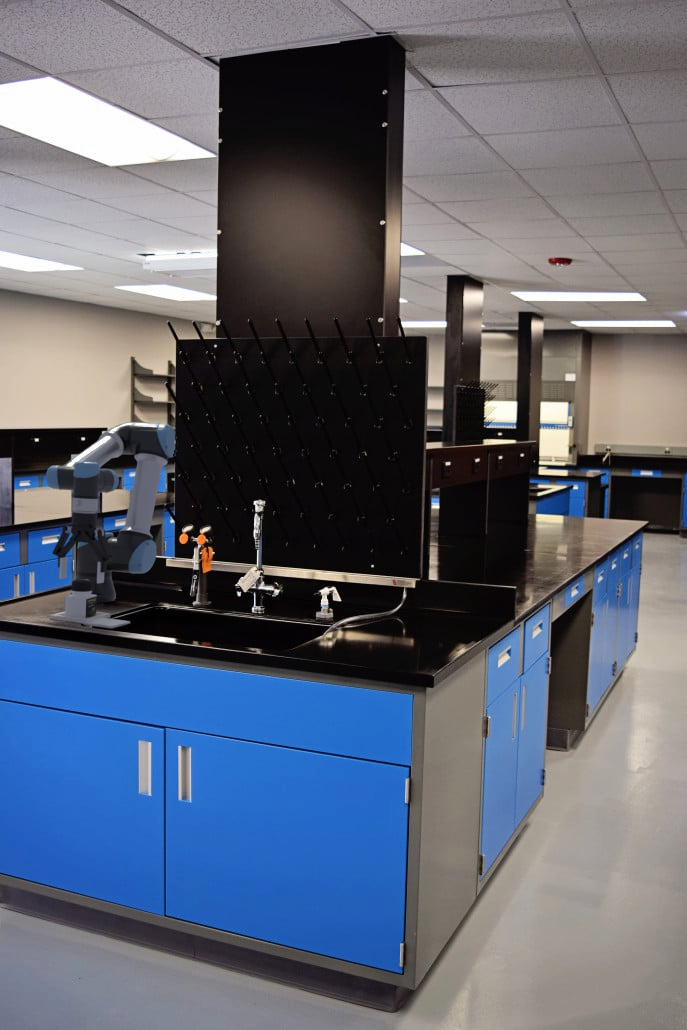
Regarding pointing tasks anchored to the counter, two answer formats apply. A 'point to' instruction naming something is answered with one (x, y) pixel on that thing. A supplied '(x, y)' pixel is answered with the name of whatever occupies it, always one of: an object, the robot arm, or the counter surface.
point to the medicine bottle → (81, 600)
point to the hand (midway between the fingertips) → (81, 580)
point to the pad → (106, 622)
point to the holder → (79, 620)
